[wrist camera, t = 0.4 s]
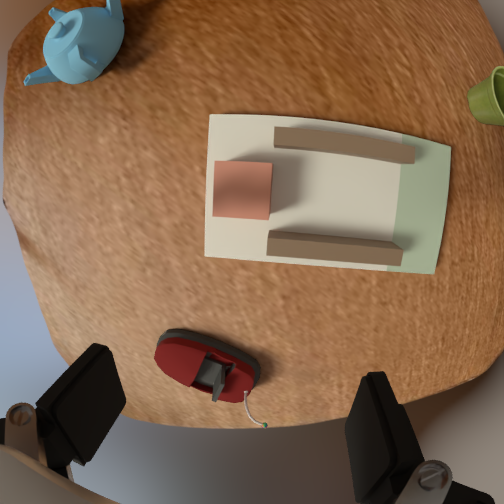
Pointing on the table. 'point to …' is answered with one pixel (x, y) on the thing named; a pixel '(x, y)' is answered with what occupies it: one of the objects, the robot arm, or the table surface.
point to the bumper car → (208, 366)
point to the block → (242, 189)
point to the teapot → (80, 44)
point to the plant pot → (488, 98)
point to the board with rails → (332, 194)
